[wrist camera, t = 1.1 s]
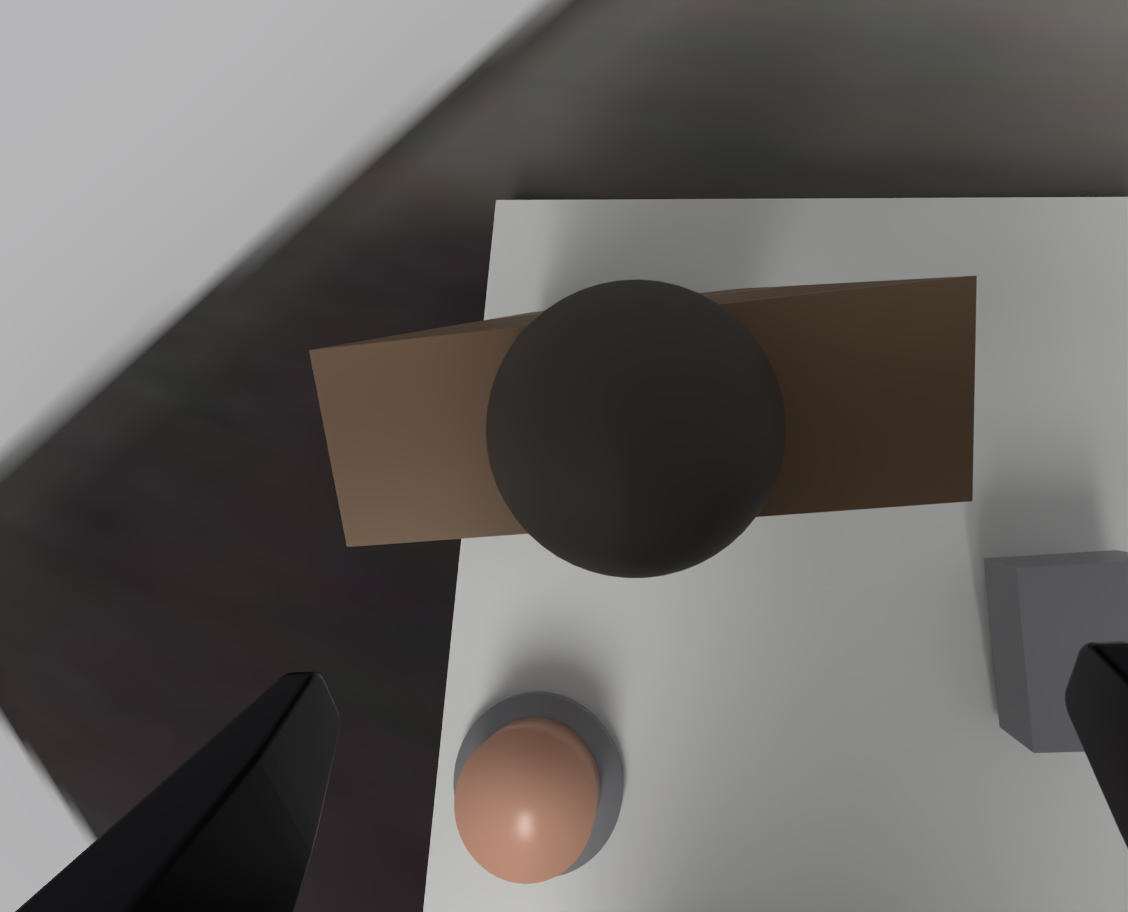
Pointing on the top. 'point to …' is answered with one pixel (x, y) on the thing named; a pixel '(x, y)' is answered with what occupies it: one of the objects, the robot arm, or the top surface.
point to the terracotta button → (528, 800)
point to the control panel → (815, 597)
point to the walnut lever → (655, 417)
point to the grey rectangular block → (1049, 635)
